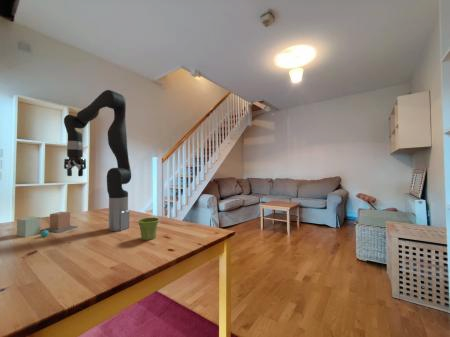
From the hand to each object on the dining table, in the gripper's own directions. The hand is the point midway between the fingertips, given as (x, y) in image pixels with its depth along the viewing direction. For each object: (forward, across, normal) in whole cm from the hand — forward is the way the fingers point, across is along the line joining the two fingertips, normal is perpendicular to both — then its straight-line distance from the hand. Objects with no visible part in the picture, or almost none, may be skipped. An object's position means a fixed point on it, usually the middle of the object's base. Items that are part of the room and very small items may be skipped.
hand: (74, 176), depth 119 cm
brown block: (+28, -4, +11) cm, 30 cm away
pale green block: (+28, +1, +22) cm, 36 cm away
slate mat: (+28, -4, +11) cm, 30 cm away
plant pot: (+28, -59, +10) cm, 66 cm away
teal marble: (+28, -10, +22) cm, 37 cm away
